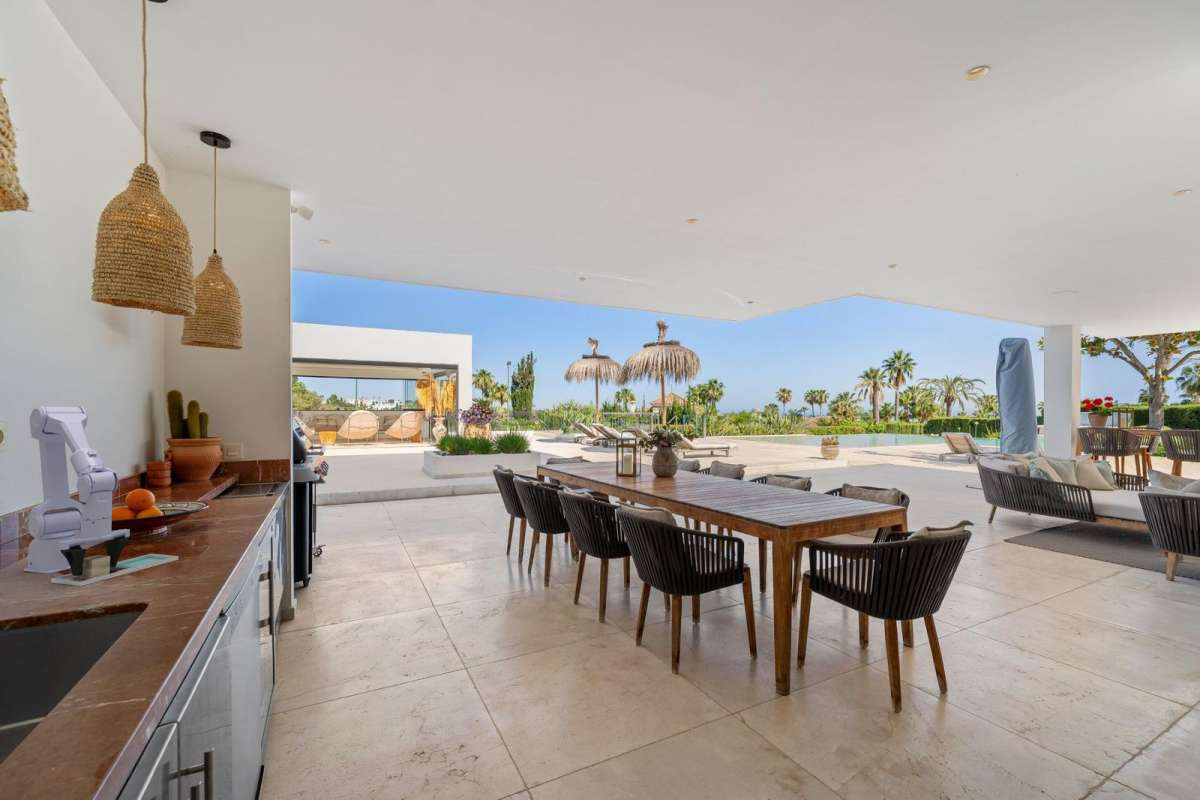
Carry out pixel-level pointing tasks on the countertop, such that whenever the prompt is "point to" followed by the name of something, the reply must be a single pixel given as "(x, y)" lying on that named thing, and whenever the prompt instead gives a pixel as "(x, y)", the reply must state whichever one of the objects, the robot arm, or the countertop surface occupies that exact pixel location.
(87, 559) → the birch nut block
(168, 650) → the countertop surface
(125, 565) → the rail frame
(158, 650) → the countertop surface
